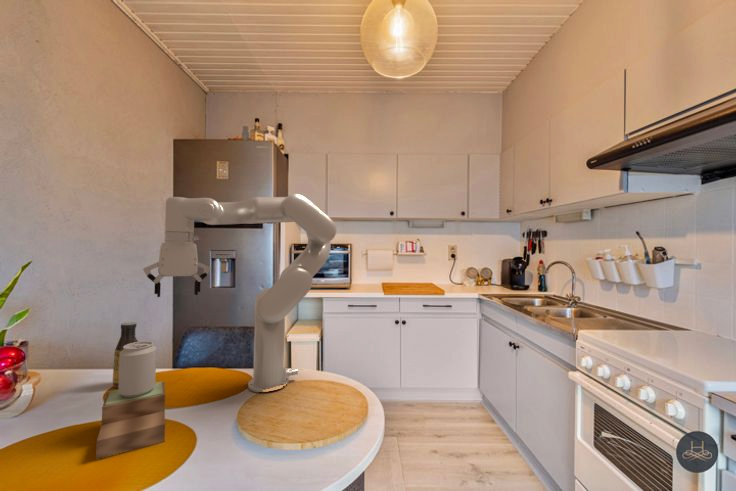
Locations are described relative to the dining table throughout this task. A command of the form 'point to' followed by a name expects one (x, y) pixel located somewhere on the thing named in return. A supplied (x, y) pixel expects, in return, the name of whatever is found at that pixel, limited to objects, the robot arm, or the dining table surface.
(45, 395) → the dining table surface
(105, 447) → the step stand
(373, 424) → the dining table surface
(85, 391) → the dining table surface
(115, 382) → the sauce bottle
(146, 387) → the can
